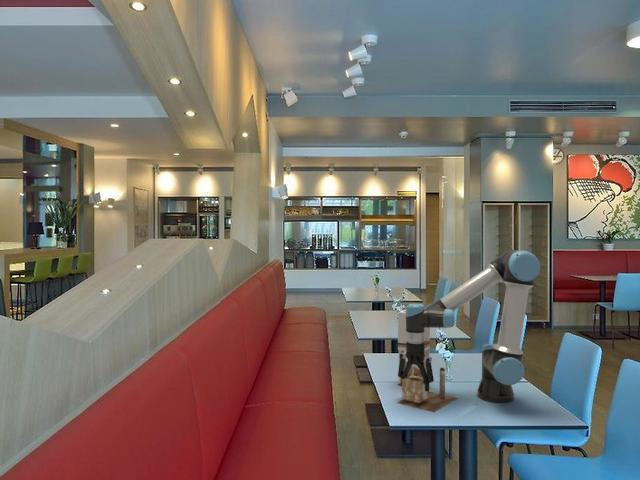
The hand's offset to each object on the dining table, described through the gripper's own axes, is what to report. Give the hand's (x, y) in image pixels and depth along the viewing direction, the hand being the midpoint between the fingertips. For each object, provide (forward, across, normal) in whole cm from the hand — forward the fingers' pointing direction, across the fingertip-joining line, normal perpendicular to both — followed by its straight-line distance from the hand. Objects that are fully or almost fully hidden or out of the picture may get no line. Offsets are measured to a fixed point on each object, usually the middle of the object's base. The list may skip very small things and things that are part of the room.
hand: (415, 396), depth 214 cm
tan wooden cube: (+1, 0, 0) cm, 1 cm away
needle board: (+4, +3, +5) cm, 7 cm away
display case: (+4, -12, +21) cm, 24 cm away
